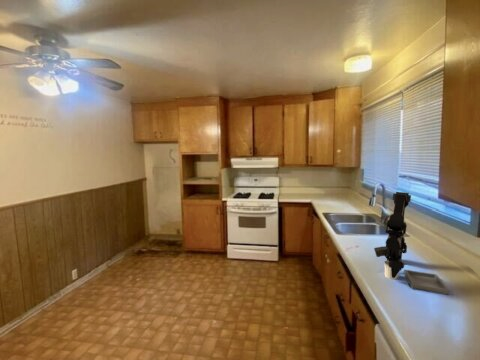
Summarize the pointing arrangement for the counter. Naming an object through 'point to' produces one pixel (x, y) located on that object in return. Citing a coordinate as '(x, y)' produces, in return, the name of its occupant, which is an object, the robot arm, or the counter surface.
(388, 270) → the cream cup
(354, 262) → the counter surface
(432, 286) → the tray
